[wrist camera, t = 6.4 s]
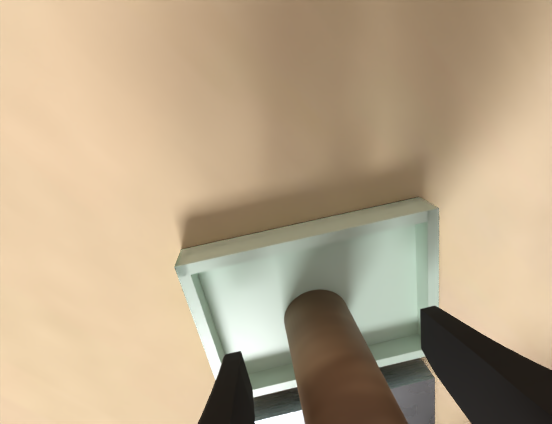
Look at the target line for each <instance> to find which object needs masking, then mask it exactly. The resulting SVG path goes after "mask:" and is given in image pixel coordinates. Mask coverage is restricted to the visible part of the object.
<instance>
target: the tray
mask: <svg viewBox="0 0 552 424" xmlns="http://www.w3.org/2000/svg"><path fill="white" fill-rule="evenodd" d="M175 270H176V273H177V275H178V278H179V281H180V284H181V286H182V289H183V292H184V295H185V297H186V300H187V303H188V306H189V308H190V311H191V314H192V317H193V319H194V322H195V325H196V328H197V330H198V333H199V336H200V339H201V341H202V344H203V347H204V350H205V352H206V355H207V358H208V361H209V363H210V366H211V369H212V372H213V375H214V377H215V380H216V378H217V375H218V373H219V370H220V367H221V364H222V360H223V357H224V356H225V354H229V353H233V352H238V351H241V353H242V356H243V359H244V362H245V366H246V369H247V372H248V375H249V379H250V382H251V385H252V389H253V397H257V396H262V395H266V394H270V393H274V392H278V391H283V390H287V389H291V388H295V387H297V383H296V378H295V374H294V369H293V364H292V359H291V354H290V349H289V344H288V339H287V334H286V330H285V325H284V315H285V312H286V309H287V307H288V306H289V304H290V303H291V302H292V301H293V300H294V299H295V298H296V297H298V296H299V295H301V294H303V293H305V292H308V291H311V290H319V289H321V290H329V291H332V292H334V293H336V294H338V295H339V296H340V297H342V299H343V300H344V301H345V303H346V305H347V307H348V309H349V311H350V312H351V314H352V316H353V318H354V320H355V322H356V324H357V326H358V328H359V330H360V332H361V334H362V336H363V337H364V339H365V341H366V343H367V345H368V347H369V349H370V351H371V353H372V355H373V357H374V359H375V361H376V362H377V364H378V366H379V367H383V366H387V365H392V364H396V363H400V362H404V361H408V360H413V359H417V358H421V357H425V355H424V353H423V351H422V349H421V325H420V309H422V308H427V307H431V306H437V307H438V308H439V208H438V207H436V206H435V205H433V204H431V203H429V202H428V201H426V200H424V199H422V198H421V197H417V198H412V199H408V200H403V201H399V202H394V203H390V204H385V205H380V206H376V207H371V208H367V209H362V210H358V211H353V212H349V213H344V214H340V215H335V216H331V217H326V218H322V219H317V220H313V221H308V222H304V223H299V224H294V225H290V226H285V227H281V228H276V229H272V230H267V231H263V232H258V233H254V234H249V235H245V236H240V237H236V238H231V239H227V240H222V241H218V242H213V243H209V244H204V245H199V246H195V247H190V248H186V249H181V251H180V254H179V256H178V259H177V262H176V264H175Z"/></svg>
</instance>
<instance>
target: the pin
mask: <svg viewBox="0 0 552 424" xmlns="http://www.w3.org/2000/svg"><path fill="white" fill-rule="evenodd" d="M284 325H285V330H286V334H287V339H288V344H289V349H290V354H291V359H292V364H293V369H294V374H295V378H296V383H297V388H298V393H299V398H300V403H301V408H302V413H303V418H304V422H305V424H408V422H407V420H406V418H405V416H404V414H403V413H402V411H401V409H400V407H399V405H398V403H397V401H396V399H395V397H394V395H393V393H392V391H391V389H390V388H389V386H388V384H387V382H386V380H385V378H384V376H383V374H382V372H381V370H380V368H379V366H378V364H377V362H376V361H375V359H374V357H373V355H372V353H371V351H370V349H369V347H368V345H367V343H366V341H365V339H364V337H363V336H362V334H361V332H360V330H359V328H358V326H357V324H356V322H355V320H354V318H353V316H352V314H351V312H350V311H349V309H348V307H347V305H346V303H345V301H344V300H343V299H342V297H340V296H339V295H338V294H336V293H334V292H332V291H329V290H321V289H319V290H311V291H308V292H305V293H303V294H301V295H299V296H298V297H296V298H295V299H294V300H293V301H292V302H291V303H290V304H289V306H288V307H287V309H286V312H285V315H284Z"/></svg>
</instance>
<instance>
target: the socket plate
mask: <svg viewBox="0 0 552 424" xmlns="http://www.w3.org/2000/svg"><path fill="white" fill-rule="evenodd" d="M379 368H380V370H381V372H382V374H383V376H384V378H385V380H386V382H387V384H388V386H389V388H390V389H391V391H392V393H393V395H394V397H395V399H396V401H397V403H398V405H399V407H400V409H401V411H402V413H403V414H404V416H405V418H406V420H407V422H408V424H435V378H434V377H433V375H432V374H431V372H430V371H429V369H428V368H427V366H426V365H425V363H424V362H423V361H422V359H421V358H417V359H413V360H408V361H404V362H400V363H396V364H392V365H387V366H383V367H379ZM253 400H254V411H255V424H305V422H304V418H303V413H302V408H301V403H300V398H299V393H298V388H297V387H295V388H291V389H287V390H283V391H278V392H274V393H270V394H266V395H262V396H257V397H253Z"/></svg>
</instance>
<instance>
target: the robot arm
mask: <svg viewBox="0 0 552 424" xmlns="http://www.w3.org/2000/svg"><path fill="white" fill-rule="evenodd" d="M420 325H421V349H422V351H423V353H424V355H425V356H426V358H427V360H428V362H429V363H430V365H431V367H432V369H433V370H434V372H435V374H436V375H437V377H438V378H439V379H440V381H441V382H442V384H443V385H444V386H445V388H446V389H447V391H448V392H449V393H450V395H451V396H452V397H453V399H454V400H455V402H456V403H457V404H458V406H459V407H460V408H461V410H462V411H463V413H464V414H465V415H466V417H467V418H468V419H469V421H470V422H471V423H472V424H552V370H550V369H548V368H546V367H544V366H541V365H539V364H537V363H535V362H533V361H531V360H529V359H527V358H525V357H523V356H521V355H519V354H518V353H516V352H514V351H512V350H510V349H508V348H506V347H504V346H502V345H501V344H499V343H497V342H495V341H493V340H492V339H490V338H488V337H486V336H485V335H483V334H481V333H480V332H478V331H476V330H475V329H473V328H471V327H470V326H468V325H466V324H465V323H463V322H461V321H460V320H458V319H456V318H455V317H453V316H452V315H450V314H448V313H447V312H445V311H443V310H442V309H440V308H438V307H437V306H431V307H427V308H422V309H420ZM198 424H255V411H254V400H253V389H252V385H251V382H250V379H249V375H248V372H247V369H246V366H245V362H244V359H243V356H242V353H241V351H238V352H233V353H229V354H225V356H224V357H223V360H222V364H221V367H220V370H219V373H218V375H217V378H216V381H215V384H214V386H213V389H212V392H211V394H210V396H209V399H208V401H207V404H206V406H205V409H204V411H203V413H202V415H201V418H200V420H199V422H198Z"/></svg>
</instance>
